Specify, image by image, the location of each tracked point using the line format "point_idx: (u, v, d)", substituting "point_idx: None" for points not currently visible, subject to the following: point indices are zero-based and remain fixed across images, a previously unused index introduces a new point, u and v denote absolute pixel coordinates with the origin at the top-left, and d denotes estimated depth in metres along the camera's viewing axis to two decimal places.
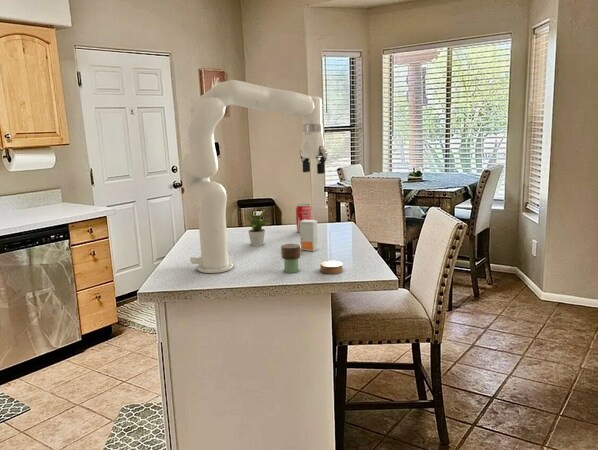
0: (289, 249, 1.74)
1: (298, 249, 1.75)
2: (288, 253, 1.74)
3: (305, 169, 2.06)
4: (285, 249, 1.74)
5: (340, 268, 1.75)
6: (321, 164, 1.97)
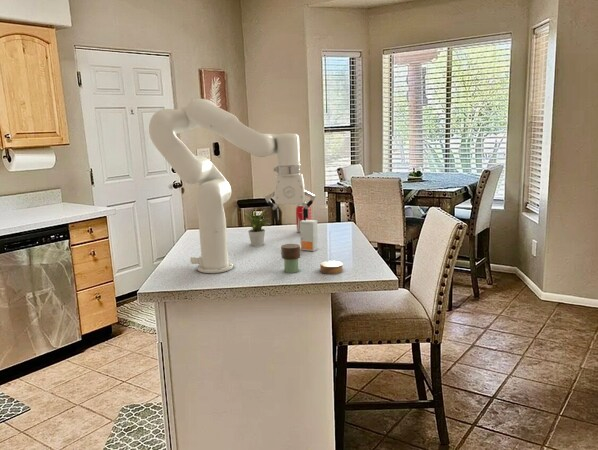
0: (289, 249, 1.74)
1: (298, 249, 1.75)
2: (288, 253, 1.74)
3: (277, 217, 1.75)
4: (285, 249, 1.74)
5: (340, 268, 1.75)
6: None
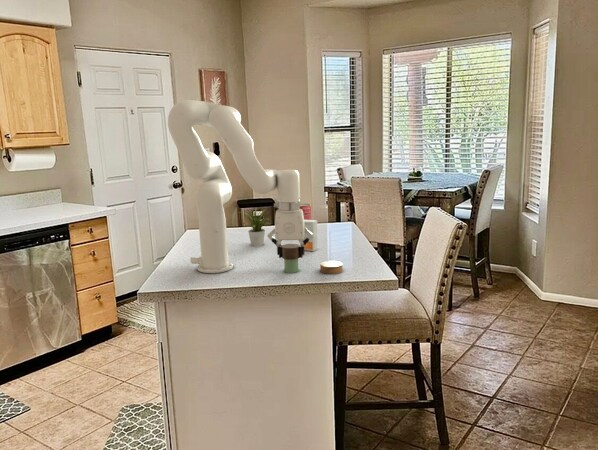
0: (289, 249, 1.74)
1: (298, 249, 1.75)
2: (288, 253, 1.74)
3: None
4: (285, 249, 1.74)
5: (340, 268, 1.75)
6: (303, 247, 1.76)
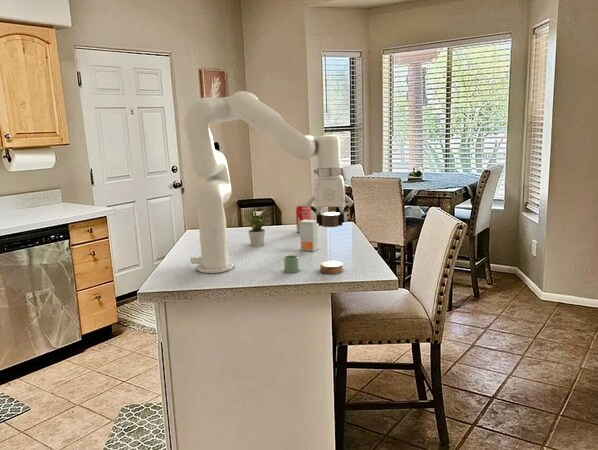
0: (329, 216, 1.70)
1: (338, 216, 1.72)
2: (329, 220, 1.71)
3: (320, 222, 1.74)
4: (325, 216, 1.71)
5: (340, 268, 1.75)
6: (343, 214, 1.73)
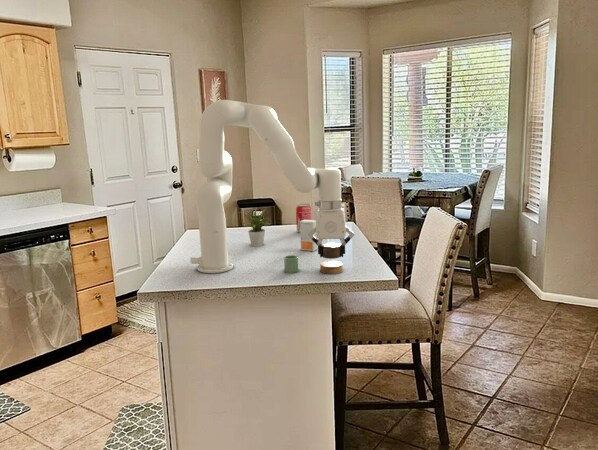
0: (331, 248, 1.73)
1: (339, 248, 1.74)
2: (330, 252, 1.73)
3: None
4: (326, 248, 1.73)
5: (340, 268, 1.75)
6: (344, 246, 1.75)
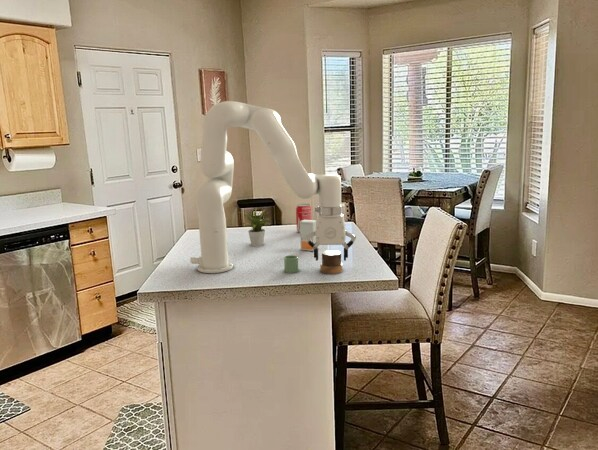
0: (331, 256, 1.73)
1: (339, 256, 1.75)
2: (330, 260, 1.73)
3: None
4: (326, 256, 1.74)
5: (340, 268, 1.75)
6: (347, 249, 1.75)
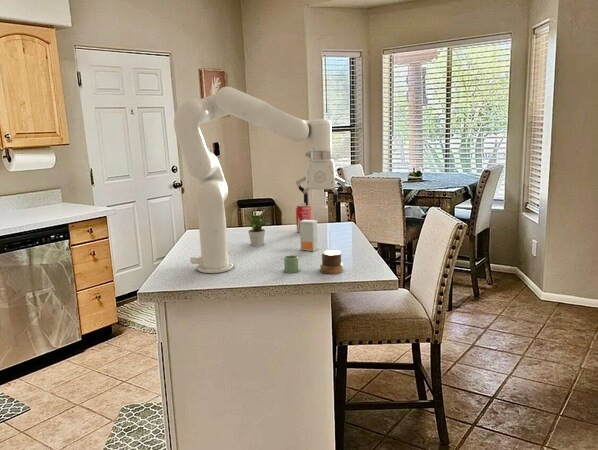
0: (331, 256, 1.73)
1: (339, 256, 1.75)
2: (330, 260, 1.73)
3: (307, 202, 1.79)
4: (326, 256, 1.74)
5: (340, 268, 1.75)
6: (337, 195, 1.77)
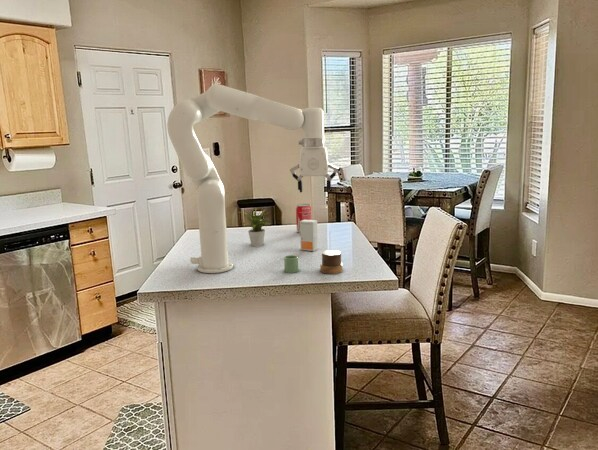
0: (331, 256, 1.73)
1: (339, 256, 1.75)
2: (330, 260, 1.73)
3: (301, 189, 1.83)
4: (326, 256, 1.74)
5: (340, 268, 1.75)
6: None
